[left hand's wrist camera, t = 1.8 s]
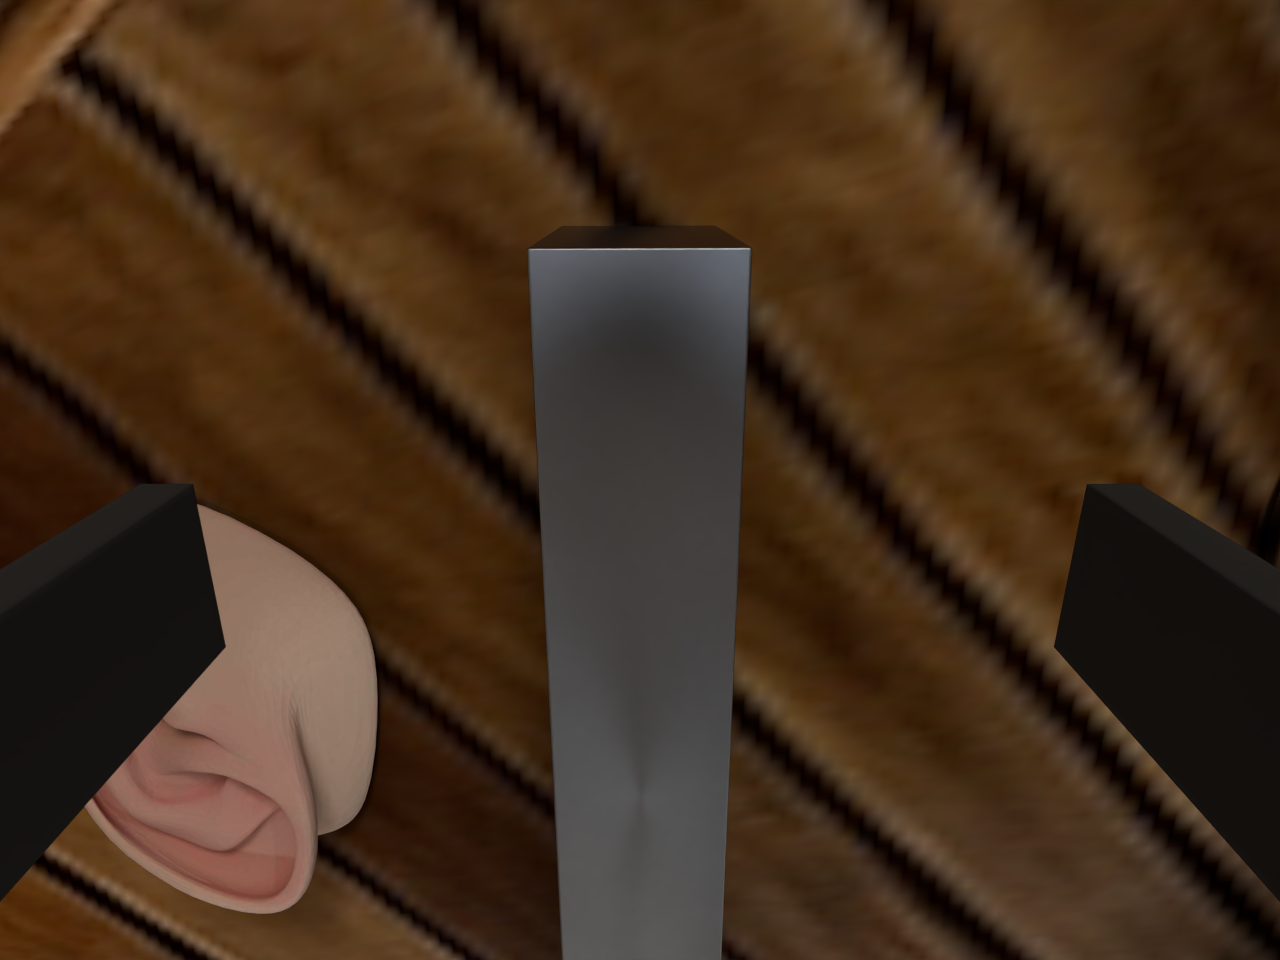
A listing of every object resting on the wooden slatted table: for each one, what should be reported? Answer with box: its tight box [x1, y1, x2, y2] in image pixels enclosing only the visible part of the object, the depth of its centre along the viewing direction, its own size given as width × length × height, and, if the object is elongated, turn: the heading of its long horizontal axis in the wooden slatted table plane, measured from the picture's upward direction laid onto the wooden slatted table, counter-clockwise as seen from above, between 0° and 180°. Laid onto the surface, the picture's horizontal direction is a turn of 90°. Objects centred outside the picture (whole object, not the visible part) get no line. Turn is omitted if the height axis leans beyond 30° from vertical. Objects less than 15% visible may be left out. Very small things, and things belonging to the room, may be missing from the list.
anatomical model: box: [85, 504, 377, 914], centre depth 27 cm, size 13×4×12 cm
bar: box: [527, 226, 752, 960], centre depth 25 cm, size 28×5×8 cm, turn 0°
